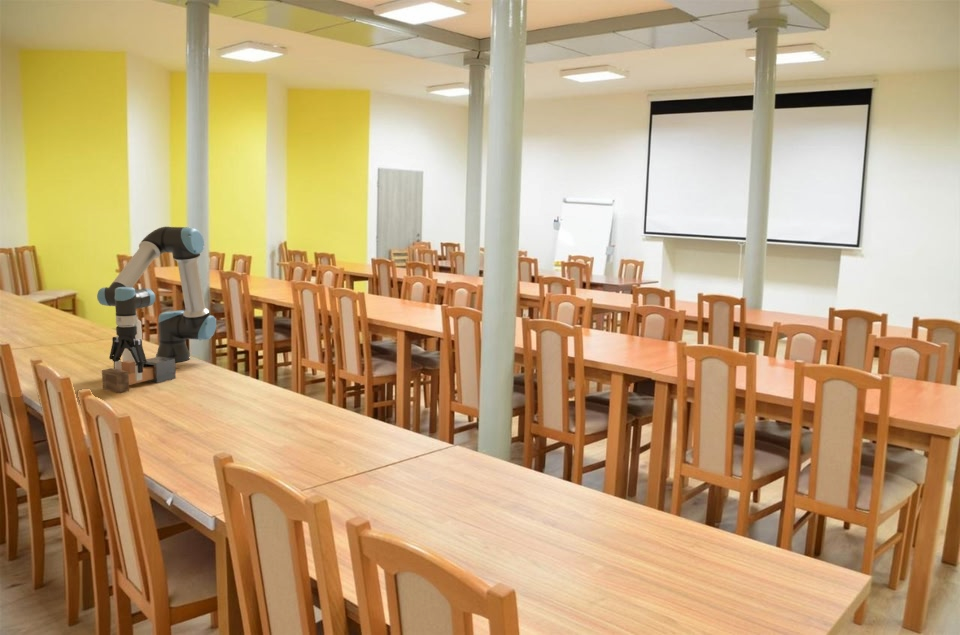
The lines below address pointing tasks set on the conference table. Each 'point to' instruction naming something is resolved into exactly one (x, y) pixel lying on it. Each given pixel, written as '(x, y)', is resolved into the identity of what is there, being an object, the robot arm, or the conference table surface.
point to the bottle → (138, 336)
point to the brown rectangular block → (115, 380)
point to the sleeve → (161, 368)
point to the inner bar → (130, 367)
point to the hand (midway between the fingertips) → (128, 378)
